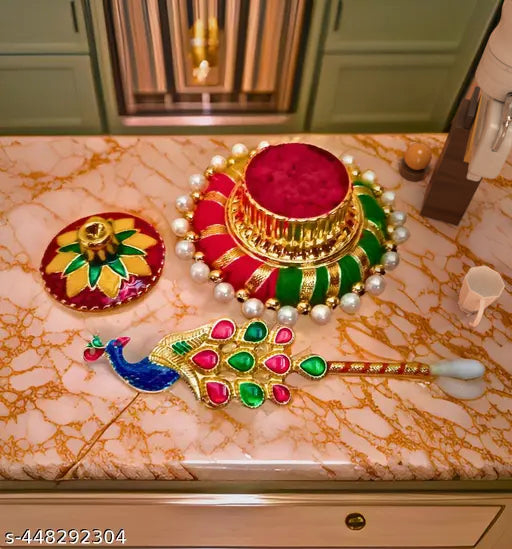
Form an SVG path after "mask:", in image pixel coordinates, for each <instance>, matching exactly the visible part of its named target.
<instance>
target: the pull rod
mask: <svg viewBox="0 0 512 549" xmlns="http://www.w3.org/2000/svg"><path fill="white" fill-rule="evenodd" d="M480 92H481V91H480ZM482 95H483V94H482V92H481V93H480V94H479V97H478V101H477V105H476V110H475V114H474V118H473V122H472V126H471V130H470V135H469V139H468V143H467V148H466V152H465V156H464V162H468V163H469V161H470V156H471V151H472V146H473V141H474V136H475V131H476V126H477V121H478V115H479V110H480V105H481V100H482Z"/></svg>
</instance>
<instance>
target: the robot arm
mask: <svg viewBox="0 0 512 549" xmlns="http://www.w3.org/2000/svg"><path fill="white" fill-rule="evenodd" d="M474 75H475V81H476V83H477V85H478V87H480V92H482V94H483V95H482V100H481V105H480V110H479V115H478V121H477V126H476V131H475V136H474V141H473V146H472V151H471V156H470V161H469V166H468V173H467V179H469V180H473V181H479V180H480V179H481V177H483V178H484V179H489V180H494V179H496V178H497V177H498V176H499V175H500V173H501V171H502V169H503V167H504V165H505V163H506V161H507V160H508V156H509V154H510V152H511V151H512V0H504V1H503V4H502V7H501V17H500V20H499V22H498V24H497V26H496V27H495V28H494V29H493V31H492V32H491V33H490V36H489V38H488V40H487V43H486V45H485V48H484V50H483V53H482V54H481V58H480V60H479V62H478V65H477V68H476V69H475V74H474ZM483 178H482V179H483Z"/></svg>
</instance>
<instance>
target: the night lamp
mask: <svg viewBox="0 0 512 549" xmlns="http://www.w3.org/2000/svg"><path fill="white" fill-rule="evenodd" d="M432 158H433V153H432V150H431V148H430V147H429V146H428V145H427V144H425V143H422V142H415V143H412V144H411V145H409V146H408V147H407V148H406V150H405V152H404V156H403V158H402V159H401V160H400V165H399V167H398V171H399V174H400V176H401V177H402V178H403V179H405V180H406V181H409V182H421V181H424V179H426V177H427V175H428V172H429V170H430V163H431V162H432Z"/></svg>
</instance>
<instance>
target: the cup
mask: <svg viewBox="0 0 512 549" xmlns="http://www.w3.org/2000/svg"><path fill="white" fill-rule="evenodd" d="M505 288H506V285H505V283H504V280H503V278H502V275H501V274H500V272H498V271H496V270H494V269H492V268H490V267H489V266H487V265H480V266H479V265H478V266H471V267H470V268H469V270H468V271H467V272H466V274H465V276H464V278H463V281H462V284H461V287H460V290H459V295H458V296H459V298H458V301H457V305H458V307H459V309H460V311H462V312H463V313H464V314H465V313H466V318H469V317H472V316H473V315H476V317H475V319H474V320H473V322H470V321H468V325H469V326H470V327H474V328H477V326H478V325H479V323H480V322H481V320H482V317H483V314H484V311H485V309H486V308H488V307H489V306H490V305H491V304H492V303H493V302H495V301H496V300H497V299H498V298H499V297H500V296H501V295H502V292H503V291H504V289H505Z"/></svg>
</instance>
